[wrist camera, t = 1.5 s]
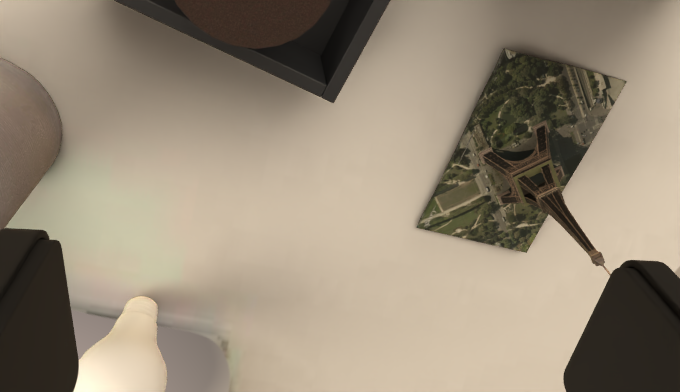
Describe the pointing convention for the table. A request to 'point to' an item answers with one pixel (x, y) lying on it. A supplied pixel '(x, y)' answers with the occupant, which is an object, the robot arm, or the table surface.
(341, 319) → the table surface
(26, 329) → the robot arm
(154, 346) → the lightbulb
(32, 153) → the pillar candle
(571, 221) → the eiffel tower figurine
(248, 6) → the deodorant
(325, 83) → the bin
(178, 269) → the table surface
